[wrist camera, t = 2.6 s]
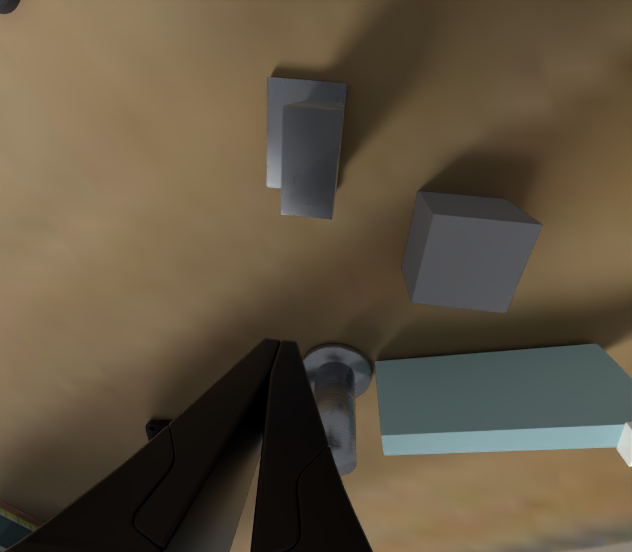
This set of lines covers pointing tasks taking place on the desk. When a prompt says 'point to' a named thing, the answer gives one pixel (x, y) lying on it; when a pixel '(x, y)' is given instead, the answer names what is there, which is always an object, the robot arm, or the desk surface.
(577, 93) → the desk surface
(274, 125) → the grey block
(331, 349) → the post
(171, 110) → the desk surface
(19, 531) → the building model
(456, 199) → the dark gray cube
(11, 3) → the phone
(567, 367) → the light blue bar
